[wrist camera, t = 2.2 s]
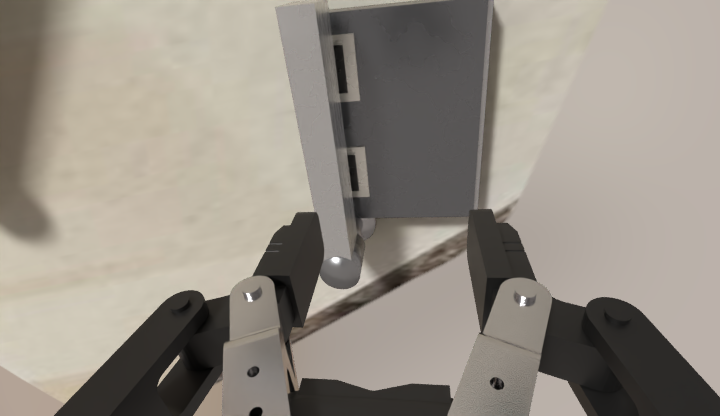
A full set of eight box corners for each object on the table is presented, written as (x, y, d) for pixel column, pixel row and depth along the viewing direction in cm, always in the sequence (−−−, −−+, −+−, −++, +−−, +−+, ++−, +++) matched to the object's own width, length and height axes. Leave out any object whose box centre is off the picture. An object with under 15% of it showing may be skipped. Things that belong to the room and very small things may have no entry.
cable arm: (366, 258, 38) (361, 289, 34) (331, 258, 38) (322, 288, 35) (336, -3, 26) (323, 2, 22) (285, 2, 26) (265, 8, 23)
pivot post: (373, 199, 39) (370, 221, 35) (377, 238, 41) (374, 262, 38) (326, 200, 39) (318, 222, 36) (332, 239, 42) (325, 262, 39)
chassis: (488, -7, 28) (495, -5, 26) (473, 201, 37) (478, 217, 35) (300, 12, 30) (290, 16, 28) (331, 204, 40) (326, 220, 37)
